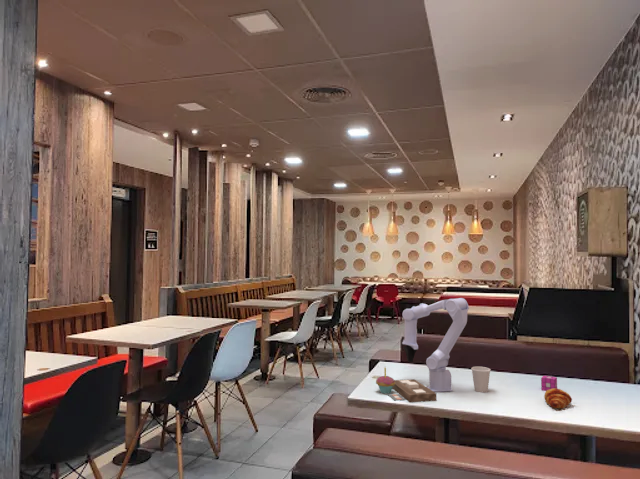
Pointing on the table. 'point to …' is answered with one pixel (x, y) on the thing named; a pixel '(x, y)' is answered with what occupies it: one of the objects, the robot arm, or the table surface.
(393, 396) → the pattern card
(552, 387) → the puzzle toy
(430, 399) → the button board
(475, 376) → the dixie cup
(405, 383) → the button
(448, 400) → the table surface
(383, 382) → the cupcake
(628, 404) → the table surface
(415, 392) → the button
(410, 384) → the button middle
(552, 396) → the croissant
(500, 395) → the table surface
